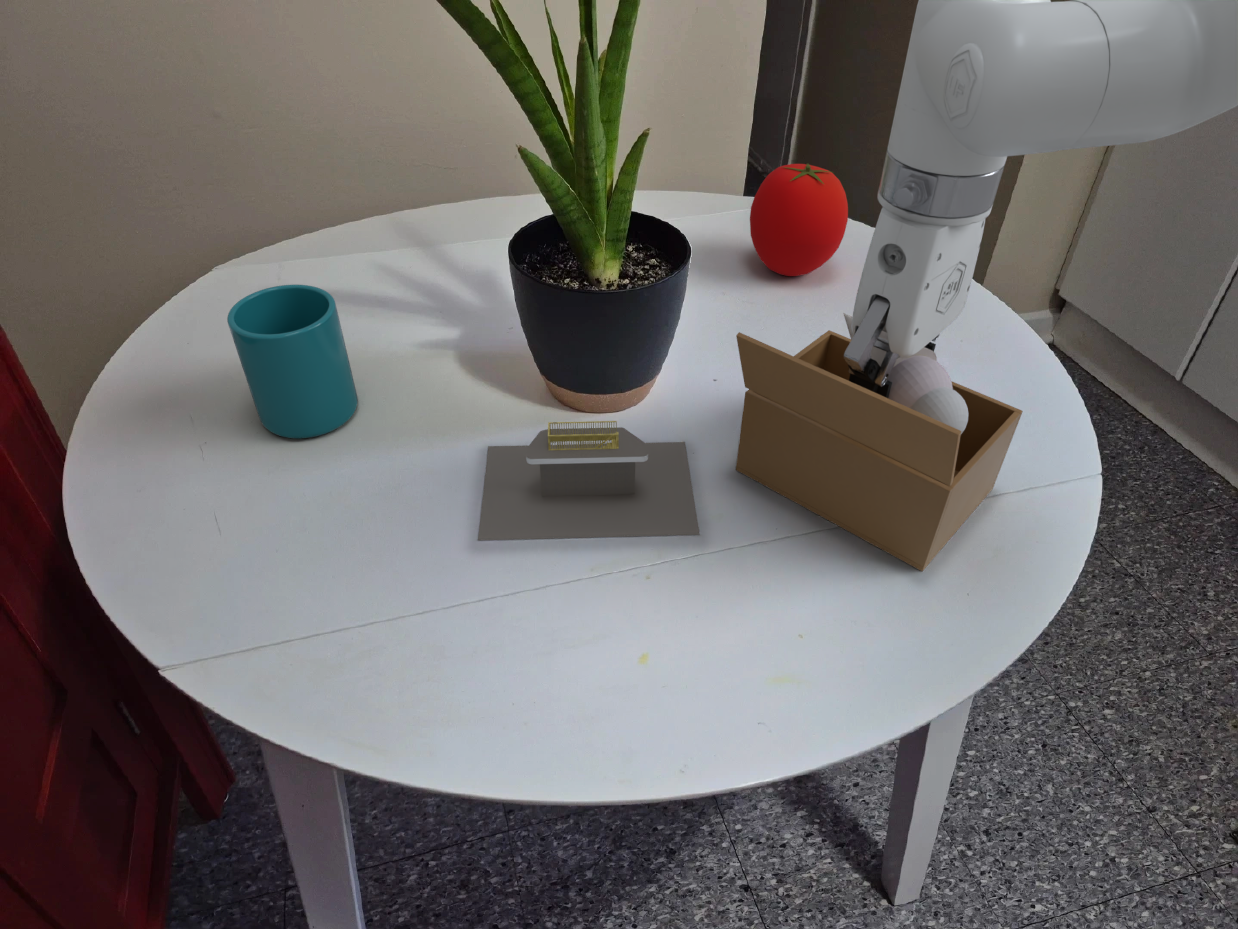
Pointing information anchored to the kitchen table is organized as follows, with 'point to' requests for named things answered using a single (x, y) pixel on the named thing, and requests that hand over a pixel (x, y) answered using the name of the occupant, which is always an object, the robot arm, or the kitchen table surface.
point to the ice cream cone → (923, 385)
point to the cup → (294, 359)
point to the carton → (872, 467)
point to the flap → (851, 409)
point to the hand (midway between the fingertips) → (884, 396)
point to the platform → (587, 487)
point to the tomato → (798, 218)
